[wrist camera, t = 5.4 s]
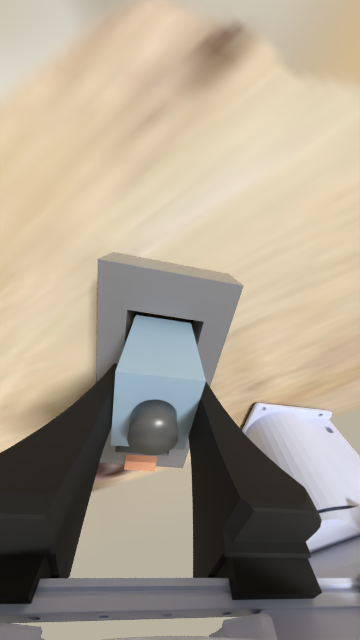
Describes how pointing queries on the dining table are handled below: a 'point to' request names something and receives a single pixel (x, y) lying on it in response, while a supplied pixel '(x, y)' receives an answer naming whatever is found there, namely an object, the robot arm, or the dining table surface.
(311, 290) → the dining table surface
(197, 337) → the grey slotted tray
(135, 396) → the plug
